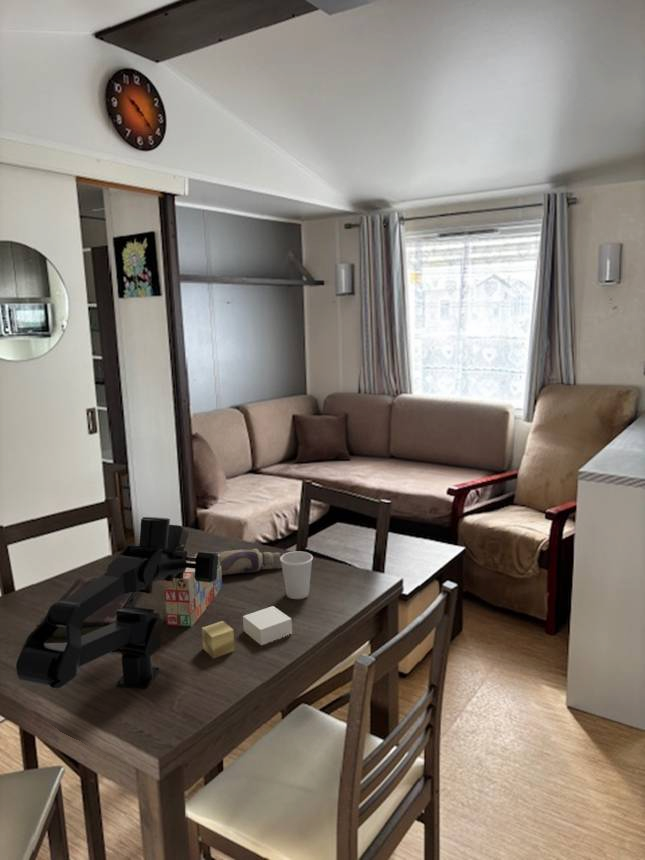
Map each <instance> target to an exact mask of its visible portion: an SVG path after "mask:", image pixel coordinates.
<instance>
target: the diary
mask: <svg viewBox="0 0 645 860" xmlns="http://www.w3.org/2000/svg"><path fill="white" fill-rule="evenodd" d="M101 576H102V575H95V576H90V577H89V576H88V577H86V576H85V577H78V578H77V579H76V580H75V582H74V583H72V586H70V587H69V589H68V590H67V591H66V592H65V593H64V594H63V595H62V596H61V597H60V598H59V599H58V600H57V602H60V601H63V600H64V599H66V598H68V597H69V596H71V595H72V594H74V593H75V592H77V591H79V590H80V589H82V588H83V587H85V586H87V585H88V584H90V583H91V582H93V581H95V580H96V579H98V578H99V577H101ZM143 594H144V593H142V592H130V593H124V594H122V595H120V596H118V597H117V598H115V599H114V600H113V601H111V602H110V603H108V604H107V605H105V606H104V607H103V608H101V609H100V610H98V611H97V612H95V613H94V614H93V615H91V616H90V617H88V618H87V619H86V620H84V623H83V625H82V628H81V636H83V635H85V634H88V633H90V632H92V631H95V630H97V629H100V628H102V627H105V626H107V625H110V624H112V623H114V622H115V618H116V616H117V613H116V610H121V609H123V608H124V607H125V606H132V607H136V603H137V601H138V600H140V598H142V597H141V596H143ZM45 618H46V615H44V617H42V619H41V620H40V621H39V622H38V623H37V624H36V625H35V629H36V628H37V627H38V626H39V625H40V624H41V623H42V622H43V621H44V620H45ZM50 637H51V638H52V637H53V638H54V639H56V638H55V637H60V638H61V637H67V632H66V627H60V626H59V627H58V629H57V630H56V631H55V632H54V633H53V634H52V635H51V636H50ZM61 639H62V638H61Z"/></svg>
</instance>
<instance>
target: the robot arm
mask: <svg viewBox="0 0 645 860" xmlns="http://www.w3.org/2000/svg"><path fill="white" fill-rule="evenodd" d="M170 522H171V518H169V517H167V518H166V517H156V516H155V517H154V516H151V517H150V516H144V517H141V520H140V531H139V532H140V534H139V543H138V544H134V545H133V544H127V545H126V546H125V547H124V549H123V550H121V551H120V553H119V555H118V556H117V557H115V558H114V559H113V560H112V561H111V562H110V563H109V564H108V565H107V566H106V571H105V572H104V573H103V574H102V575H100V576H101V577H99V578H98V579H96V580H95V581H93V582H91V583H90V584H88V585H87V586H85V587H83V588H82V589H80V590H79V591H77V592H75V593H74V594H72V595H71V596H69V597H68V598H66V599H64V600H63V601H60V602H58V601H57V602H54V603H53V604H52V605H50V607H49V608H48V611H47V613H46V614H45V616H46V618H45V620H44V621H43V622H42V623H41V624H40V625H39V626H38V627H37V628H36V627H35V629H33V630H32V632H30V633H29V635H28V636H27V638H26V639H25V642H24V645H23V647H22V649H21V651H20V654H19V656H18V658H17V661H16V666H15V669H16V676H17V678H18V680H20V682H22V683H26V684H31V685H36V686H41V687H47V688H51V689H57V690H58V689H60V688H63V687H64V686H65V685H66V684H67V683H69V682H71V681H72V680H73V679H74V678H76V676H77V674H78V671H79V668H80V667H83V666H84V665H87V664H89V663H91V662H93V661H94V660H97V659H99V658H101V657H103V656H105V655H107V654H110V653H113V654H115V653H117V654H121V658H120V659H121V668H122V675H121V676H120V677H119V679H117V681H116V686H117V687H119V686H120V687H128V688H129V687H130V688H139V689H140V688H141V689H143V688H144V689H146V688H148V687H149V685H151V683H152V682H153V680H154V679H155V678H156V677H157V675H158V674H159V672H160V671H161V668H160V667H158V666H157V667H155V666H153V655H154V654H155V653H156V652H157V651H158V650H160V648H161V647H162V646H161V645H162V638H163V630H164V621H163V619H162V618H161V615H160V612H158V611H155V609H153V608H147V607H146V608H145V607H138V606H135V607H132V606H125V607H124V608H123V609H121V610H116V613H117V616H116V618H115V622H114V623H112V624H110V625H107V626H105V627H102V628H100V629H97V630H95V631H92V632H90V633H88V634H85V635H83V636H81V628H82V625H83V623H84V620H86V619H87V618H88V617H90V616H91V615H93V614H94V613H95V612H97V611H98V610H100V609H101V608H103V607H104V606H105V605H107V604H108V603H110V602H111V601H113V600H114V599H115V598H117V597H118V596H120V595H122V594H124V593H130V592H142V593H143V594H144V593H145V594H149V595H150V594H152V592H153V586H154V585H153V584H154V583H156V582H159V581H164V580H165V581H173V578H177V579H183V572H185V570H186V568H193V569H195V576H194V577H195V579H196V581H201V582H209V583H210V582H214V581H215V580H216V578H217V566H218V555H217V553H213V552H212V551H211V552H210V551H198V552H197V553H196V554H197V556H196V558H195V557H194V556H188V550H185V548H186V543H187V540H188V537H189V536H190V535H189V534H190V532H189V530H187V528H185V527H183V526H182V525H180V524H179V525H177V524H170ZM186 561H188V562H186ZM191 561H192V562H196V563H190V562H191ZM59 626H60V627H66V632H67V638H66V642H53V643H52V642H51V643H50V642H49V643H48V642H47V643H46V641H48V640H49V639H50V638H49V637H50V636H51V635H52V634H53V633H54V632H55V631H56V630H57V629H58V627H59ZM52 636H53V635H52ZM52 636H51V637H52Z"/></svg>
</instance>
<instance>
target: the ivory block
mask: <svg viewBox="0 0 645 860" xmlns="http://www.w3.org/2000/svg"><path fill="white" fill-rule="evenodd" d="M292 621H293V620H292V618H291V617H290V616H288V615H287V614H285V613H284V612H282V611H281V610H279V608H276V607H275V606H274V605H272V606H269V607H265V608H263V609H260V610H257V611H255V612H251V613H247V614H245V615H243V616H242V624H243V632H244V633H245V634H247V635H248V636H249V637H250V638H252V640H254V641H255V642H256V643H258V644H259V645H260V646H263V645H267V644H268V643H269V642H270V643H272V642H275V641H278V640H280V639H283V638H285V636H286V637H288V636H290V635H289V634H291V635H292V634H293V622H292ZM287 635H288V636H287ZM282 637H283V638H282ZM277 639H278V640H277ZM274 640H275V641H274ZM270 643H269V644H270Z"/></svg>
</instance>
